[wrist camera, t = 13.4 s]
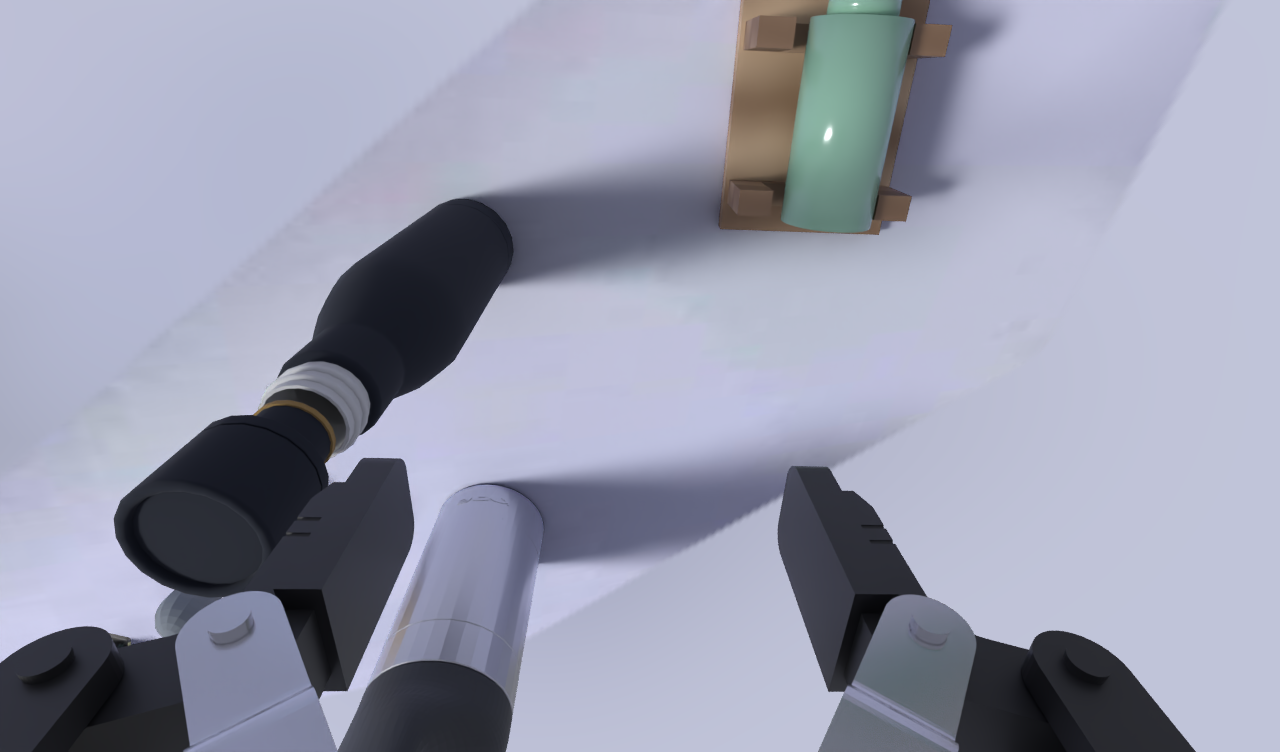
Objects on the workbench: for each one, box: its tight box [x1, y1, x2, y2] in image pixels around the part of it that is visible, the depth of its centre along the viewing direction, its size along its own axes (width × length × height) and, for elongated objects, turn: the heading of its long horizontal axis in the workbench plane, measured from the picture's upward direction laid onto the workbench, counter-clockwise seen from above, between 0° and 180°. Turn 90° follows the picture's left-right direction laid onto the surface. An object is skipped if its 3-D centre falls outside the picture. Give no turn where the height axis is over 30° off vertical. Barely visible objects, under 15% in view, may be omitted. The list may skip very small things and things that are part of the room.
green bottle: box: [780, 0, 915, 233], centre depth 34 cm, size 16×6×6 cm, turn 177°
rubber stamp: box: [155, 590, 222, 637], centre depth 47 cm, size 10×6×12 cm, turn 117°
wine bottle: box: [114, 199, 513, 598], centre depth 28 cm, size 6×6×30 cm
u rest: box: [719, 0, 952, 235], centre depth 37 cm, size 14×11×5 cm
